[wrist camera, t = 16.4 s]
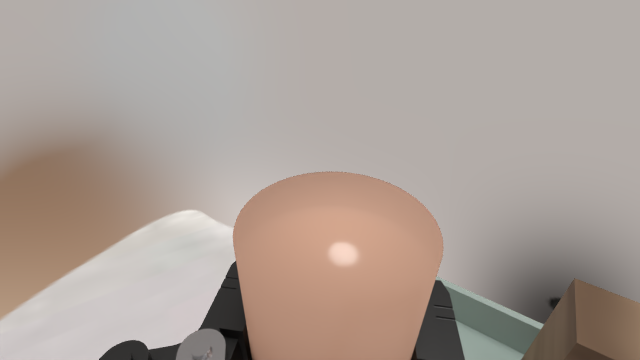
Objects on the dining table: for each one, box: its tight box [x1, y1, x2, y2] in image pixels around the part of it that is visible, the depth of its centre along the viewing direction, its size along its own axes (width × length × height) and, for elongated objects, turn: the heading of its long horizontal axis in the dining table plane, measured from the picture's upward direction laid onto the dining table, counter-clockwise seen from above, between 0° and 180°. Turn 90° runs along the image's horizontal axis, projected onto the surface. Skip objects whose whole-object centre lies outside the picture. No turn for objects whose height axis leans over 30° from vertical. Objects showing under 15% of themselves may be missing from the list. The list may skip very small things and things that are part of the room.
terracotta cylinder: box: [233, 172, 443, 360], centre depth 11 cm, size 5×5×11 cm
